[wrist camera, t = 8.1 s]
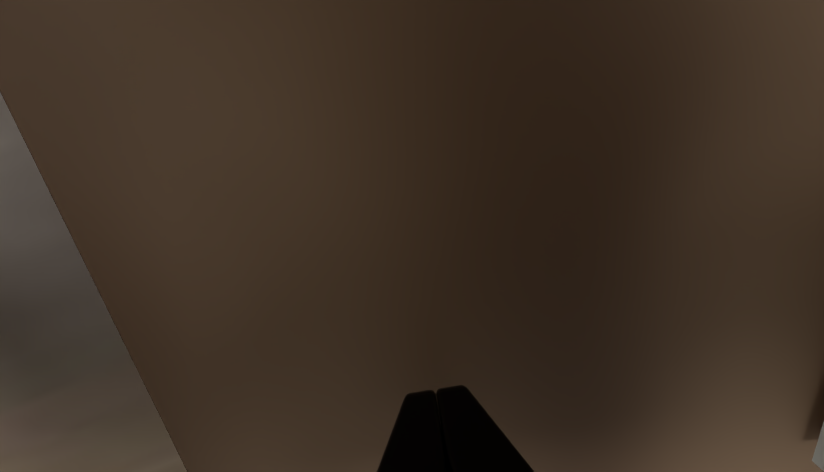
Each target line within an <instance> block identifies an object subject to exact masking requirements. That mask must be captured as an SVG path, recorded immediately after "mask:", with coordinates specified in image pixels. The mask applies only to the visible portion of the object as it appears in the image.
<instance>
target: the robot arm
mask: <svg viewBox="0 0 824 472" xmlns="http://www.w3.org/2000/svg"><path fill="white" fill-rule="evenodd" d="M436 396H437V398H436ZM437 403H438V405H437ZM438 410H439V411H438ZM439 416H440V417H439ZM377 472H534V470H533V469H532V468H531V467H530V465H529V464H528V463H527V462H526V460H525V459H524V458H523V457H522V455H521V454H520V453H519V452H518V450H517V449H516V448H515V447H514V445H513V444H512V443H511V442H510V440H509V439H508V438H507V437H506V435H505V434H504V433H503V432H502V430H501V429H500V428H499V427H498V425H497V424H496V423H495V422H494V420H493V419H492V418H491V417H490V415H489V414H488V413H487V412H486V410H485V409H484V408H483V407H482V405H481V404H480V403H479V402H478V400H477V399H476V398H475V397H474V395H473V394H472V393H471V392H470V390H469V389H468V388H467V387H466V386H463V385H457V386H451V387H445V388H440V389H438V390H437V392H436V394H435V392H434V391H433V390H425V391H419V392H413V393H408V394H407V395H406V396H405V398H404V400H403V402H402V405H401V408H400V410H399V413H398V416H397V418H396V421H395V424H394V427H393V429H392V432H391V435H390V437H389V440H388V443H387V445H386V448H385V451H384V453H383V456H382V459H381V461H380V464H379V467H378V470H377Z"/></svg>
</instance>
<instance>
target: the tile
mask: <svg viewBox="0 0 824 472" xmlns="http://www.w3.org/2000/svg"><path fill="white" fill-rule="evenodd" d="M812 461H813V462H814V463H815V464H816V465H817V466H818V467H819V468H820V469H821V470H823V471H824V422H823V425H822V429H821V432H820V435H819V439H818V442H817V445H816V448H815V452H814V455H813V458H812Z"/></svg>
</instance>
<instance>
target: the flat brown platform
mask: <svg viewBox="0 0 824 472" xmlns="http://www.w3.org/2000/svg"><path fill="white" fill-rule="evenodd" d="M0 92H1V94H2V96H3V98H4V100H5V102H6V104H7V106H8V108H9V110H10V112H11V114H12V116H13V118H14V120H15V122H16V124H17V127H18V129H19V131H20V133H21V135H22V137H23V139H24V141H25V143H26V145H27V147H28V149H29V151H30V153H31V155H32V157H33V159H34V161H35V163H36V165H37V167H38V169H39V171H40V173H41V175H42V177H43V179H44V181H45V183H46V185H47V187H48V189H49V192H50V194H51V196H52V198H53V200H54V202H55V204H56V206H57V208H58V210H59V212H60V214H61V216H62V218H63V220H64V222H65V224H66V226H67V228H68V230H69V232H70V234H71V236H72V238H73V240H74V242H75V244H76V246H77V248H78V250H79V252H80V255H81V257H82V259H83V261H84V263H85V265H86V267H87V269H88V271H89V273H90V275H91V277H92V279H93V281H94V283H95V285H96V287H97V289H98V291H99V293H100V295H101V297H102V299H103V301H104V303H105V305H106V307H107V309H108V311H109V313H110V315H111V317H112V320H113V322H114V324H115V326H116V328H117V330H118V332H119V334H120V336H121V338H122V340H123V342H124V344H125V346H126V348H127V350H128V352H129V354H130V356H131V358H132V360H133V362H134V364H135V366H136V368H137V370H138V372H139V374H140V376H141V378H142V380H143V383H144V385H145V387H146V389H147V391H148V393H149V395H150V397H151V399H152V401H153V403H154V405H155V407H156V409H157V411H158V413H159V415H160V417H161V419H162V421H163V423H164V425H165V427H166V429H167V431H168V433H169V435H170V437H171V439H172V441H173V443H174V445H175V448H176V450H177V452H178V454H179V456H180V458H181V460H182V462H183V464H184V466H185V468H186V470H187V472H377V470H378V467H379V464H380V461H381V459H382V456H383V453H384V451H385V448H386V445H387V443H388V440H389V437H390V435H391V432H392V429H393V427H394V424H395V421H396V418H397V416H398V413H399V410H400V408H401V405H402V402H403V400H404V398H405V396H406V395H407V394H408V393H413V392H419V391H425V390H433V391H434V392H435V394H436V392H437V390H438V389H440V388H445V387H451V386H457V385H463V386H466V387H467V388H468V389H469V390H470V392H471V393H472V394H473V395H474V397H475V398H476V399H477V400H478V402H479V403H480V404H481V405H482V407H483V408H484V409H485V410H486V412H487V413H488V414H489V415H490V417H491V418H492V419H493V420H494V422H495V423H496V424H497V425H498V427H499V428H500V429H501V430H502V432H503V433H504V434H505V435H506V437H507V438H508V439H509V440H510V442H511V443H512V444H513V445H514V447H515V448H516V449H517V450H518V452H519V453H520V454H521V455H522V457H523V458H524V459H525V460H526V462H527V463H528V464H529V465H530V467H531V468H532V469H533V470H534V472H824V471H823V470H821V469H820V468H819V467H818V466H817V465H816V464H815V463H814V462H813V461H812V458H813V455H814V452H815V448H816V445H817V442H818V439H819V435H820V432H821V429H822V425H823V422H824V0H0ZM436 398H437V396H436ZM437 405H438V403H437ZM438 411H439V410H438ZM439 417H440V416H439Z"/></svg>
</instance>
